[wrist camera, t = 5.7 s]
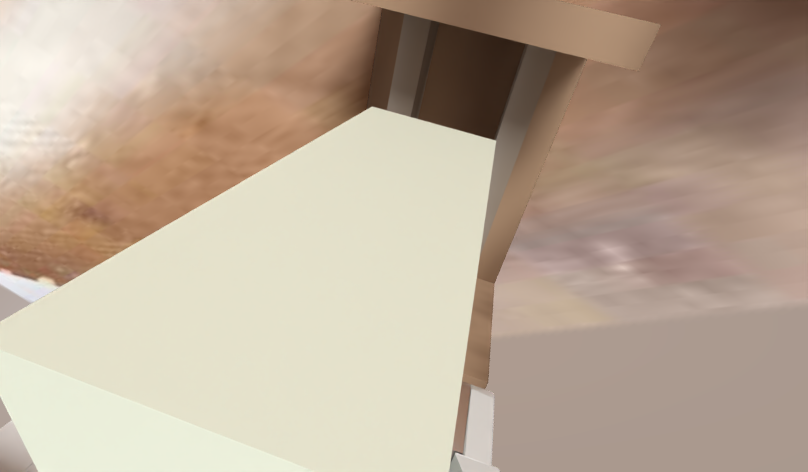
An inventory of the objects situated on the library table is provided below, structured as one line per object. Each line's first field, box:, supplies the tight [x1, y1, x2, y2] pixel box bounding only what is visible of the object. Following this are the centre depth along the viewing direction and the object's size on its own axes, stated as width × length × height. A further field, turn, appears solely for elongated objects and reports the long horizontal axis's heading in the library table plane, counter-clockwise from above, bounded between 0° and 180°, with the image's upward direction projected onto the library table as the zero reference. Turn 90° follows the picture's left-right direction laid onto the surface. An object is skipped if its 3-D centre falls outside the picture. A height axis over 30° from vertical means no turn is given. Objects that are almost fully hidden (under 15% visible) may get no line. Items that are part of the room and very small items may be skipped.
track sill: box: [352, 0, 661, 389], centre depth 19 cm, size 10×16×9 cm, turn 168°
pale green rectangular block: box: [0, 107, 496, 472], centre depth 8 cm, size 10×3×8 cm, turn 168°
